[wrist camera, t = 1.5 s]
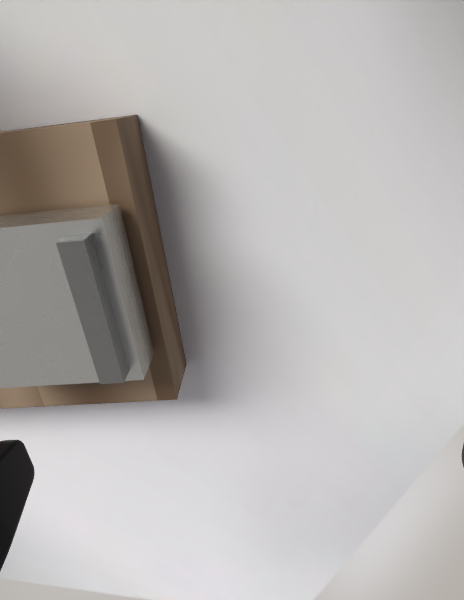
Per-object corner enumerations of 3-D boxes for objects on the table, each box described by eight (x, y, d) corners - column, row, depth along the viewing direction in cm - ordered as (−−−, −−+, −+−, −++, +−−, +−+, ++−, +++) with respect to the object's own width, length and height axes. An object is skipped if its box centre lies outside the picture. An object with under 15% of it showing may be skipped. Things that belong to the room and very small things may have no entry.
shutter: (119, 203, 16) (94, 224, 14) (154, 353, 20) (138, 392, 17) (-46, 221, 17) (-98, 243, 15) (12, 362, 20) (-22, 400, 18)
